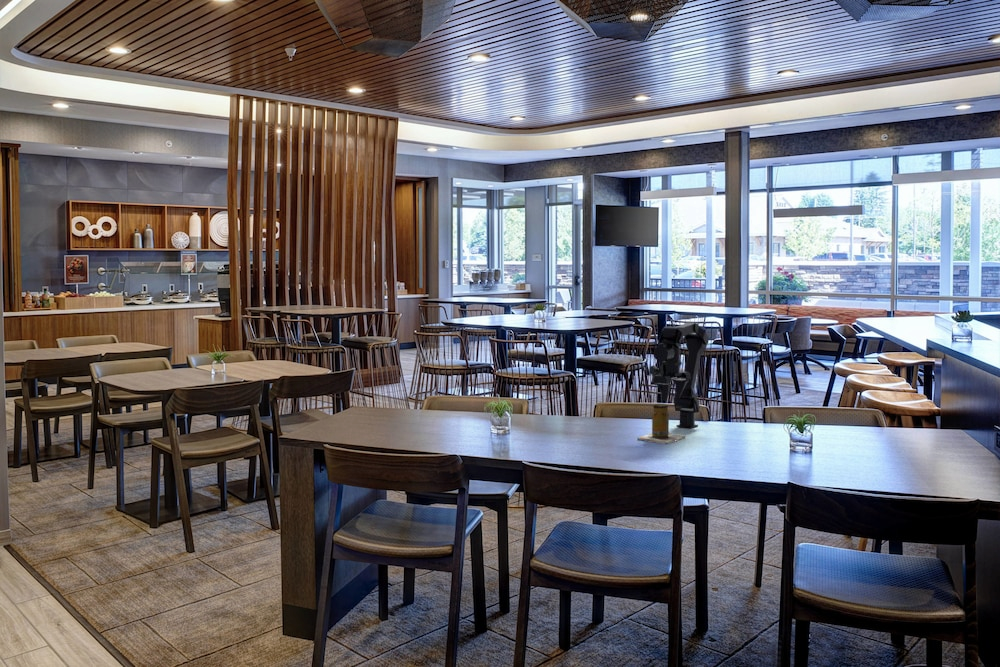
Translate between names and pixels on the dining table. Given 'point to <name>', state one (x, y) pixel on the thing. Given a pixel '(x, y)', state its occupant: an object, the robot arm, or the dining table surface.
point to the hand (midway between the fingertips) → (671, 399)
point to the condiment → (660, 422)
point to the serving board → (661, 439)
